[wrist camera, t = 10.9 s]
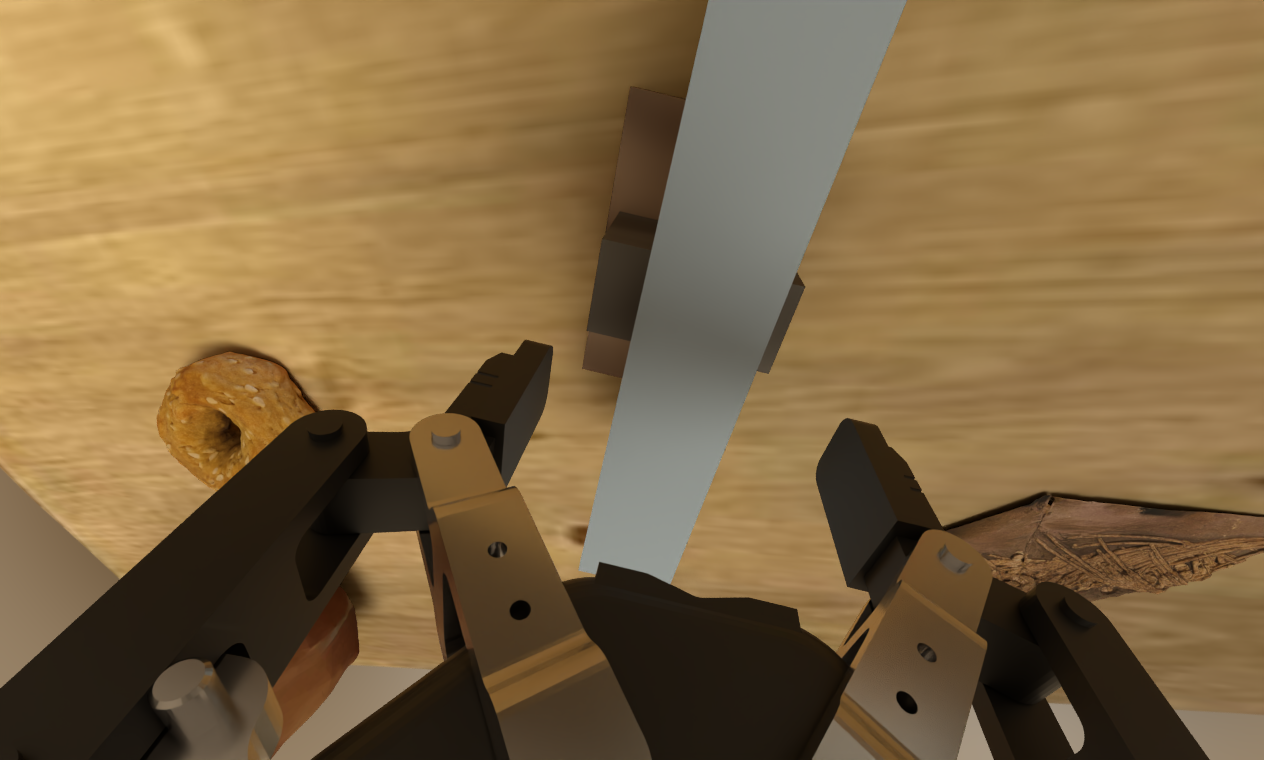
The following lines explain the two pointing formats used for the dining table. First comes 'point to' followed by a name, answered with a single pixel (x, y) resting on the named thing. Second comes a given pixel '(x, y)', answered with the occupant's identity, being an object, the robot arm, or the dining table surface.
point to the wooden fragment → (1110, 546)
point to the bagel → (226, 413)
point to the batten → (727, 253)
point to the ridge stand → (643, 234)
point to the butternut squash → (317, 664)
